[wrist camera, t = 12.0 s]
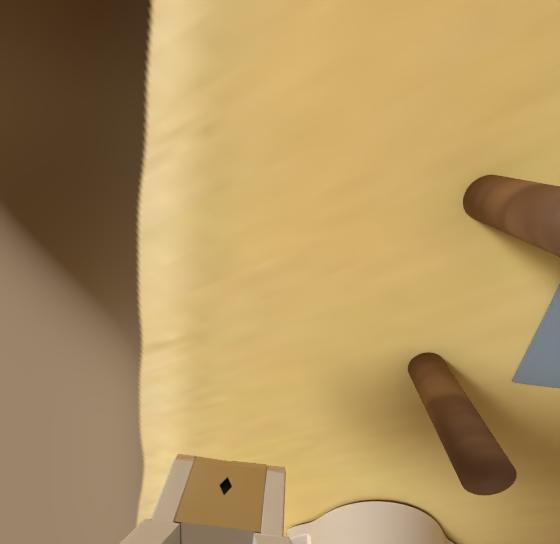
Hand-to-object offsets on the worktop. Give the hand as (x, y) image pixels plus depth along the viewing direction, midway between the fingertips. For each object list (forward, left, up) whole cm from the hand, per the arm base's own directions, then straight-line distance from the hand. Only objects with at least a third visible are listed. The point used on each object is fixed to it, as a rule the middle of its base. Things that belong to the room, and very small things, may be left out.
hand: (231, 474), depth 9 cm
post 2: (+7, -13, -15) cm, 21 cm away
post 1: (-7, -13, -15) cm, 21 cm away
